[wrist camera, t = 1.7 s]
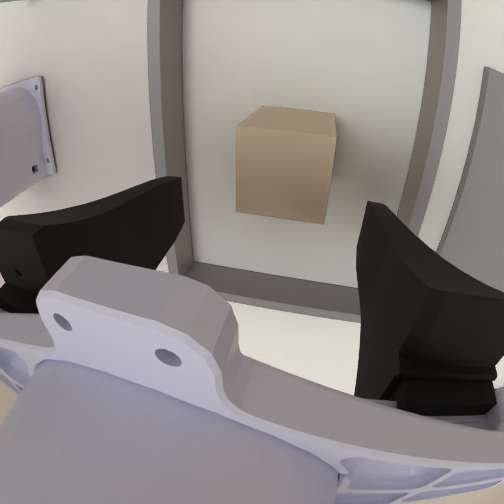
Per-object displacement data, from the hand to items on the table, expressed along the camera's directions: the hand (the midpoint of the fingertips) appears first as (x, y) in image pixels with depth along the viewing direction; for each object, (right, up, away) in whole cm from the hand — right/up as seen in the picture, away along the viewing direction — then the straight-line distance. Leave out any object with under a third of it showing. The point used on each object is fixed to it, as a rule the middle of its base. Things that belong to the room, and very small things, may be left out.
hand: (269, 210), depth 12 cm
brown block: (+2, +5, +8) cm, 10 cm away
